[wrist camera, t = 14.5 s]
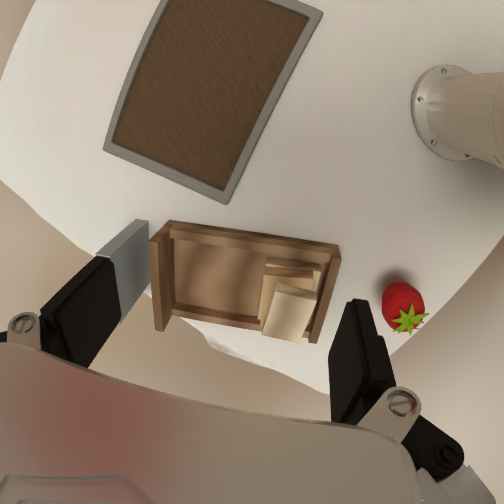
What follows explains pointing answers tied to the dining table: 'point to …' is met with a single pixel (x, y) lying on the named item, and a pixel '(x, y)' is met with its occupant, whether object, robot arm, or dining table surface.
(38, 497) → the robot arm
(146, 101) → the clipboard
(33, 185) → the dining table surface
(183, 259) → the tray
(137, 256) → the grey square slab
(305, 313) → the offcut top
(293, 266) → the offcut bottom
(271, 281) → the offcut middle
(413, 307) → the strawberry
